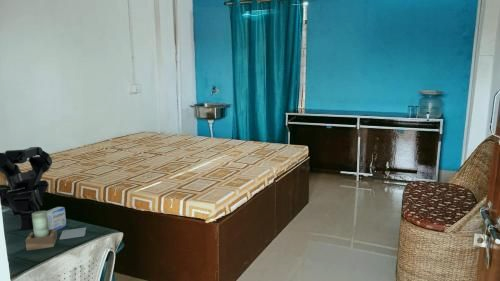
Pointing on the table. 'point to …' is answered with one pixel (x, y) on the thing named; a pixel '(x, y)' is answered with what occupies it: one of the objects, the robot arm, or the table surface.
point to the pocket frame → (41, 240)
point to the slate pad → (73, 233)
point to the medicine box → (56, 218)
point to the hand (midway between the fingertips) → (30, 207)
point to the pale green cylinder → (40, 224)
